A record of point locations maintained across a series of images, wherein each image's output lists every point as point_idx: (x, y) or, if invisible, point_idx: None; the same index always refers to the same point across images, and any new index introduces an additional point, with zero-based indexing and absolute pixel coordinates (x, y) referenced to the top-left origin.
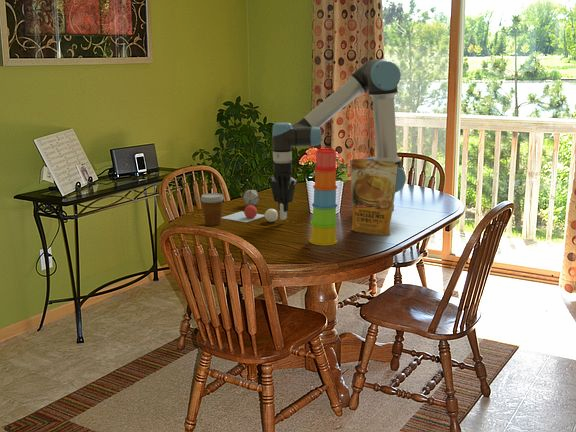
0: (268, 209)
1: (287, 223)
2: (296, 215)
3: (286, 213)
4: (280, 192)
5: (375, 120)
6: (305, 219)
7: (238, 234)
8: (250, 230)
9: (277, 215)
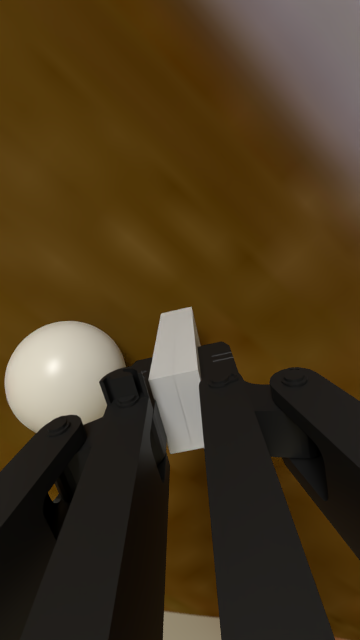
0: (33, 424)
1: (203, 302)
2: (24, 28)
3: (193, 325)
4: (156, 603)
5: None
6: (212, 85)
7: (191, 614)
8: (171, 546)
9: (117, 356)
